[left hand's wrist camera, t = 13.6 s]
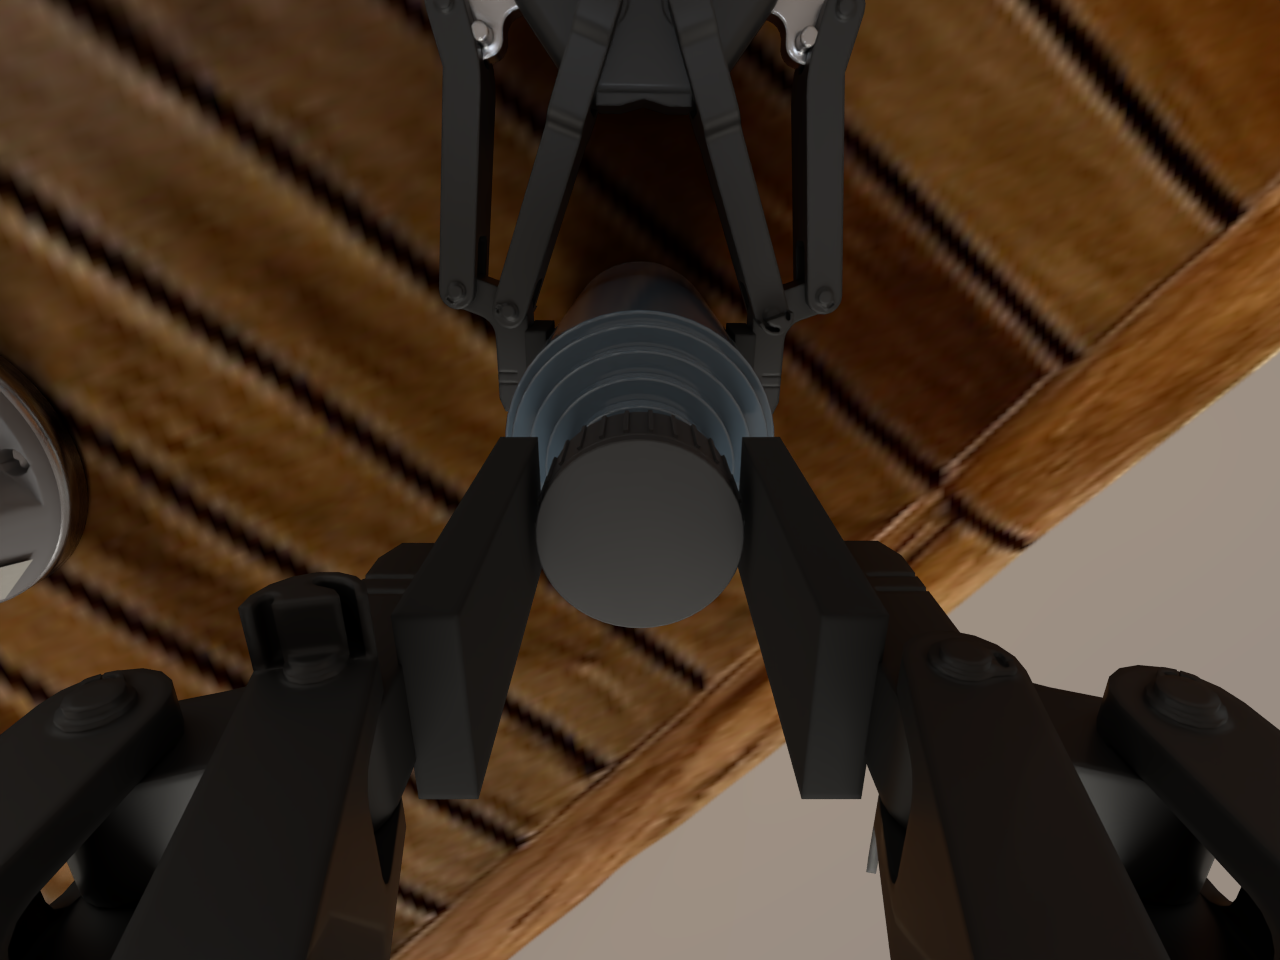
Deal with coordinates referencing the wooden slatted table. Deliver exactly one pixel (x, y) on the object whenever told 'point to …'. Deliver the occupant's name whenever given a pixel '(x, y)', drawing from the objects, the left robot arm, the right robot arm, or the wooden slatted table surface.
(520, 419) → the bottle
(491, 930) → the wooden slatted table surface
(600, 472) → the cap
